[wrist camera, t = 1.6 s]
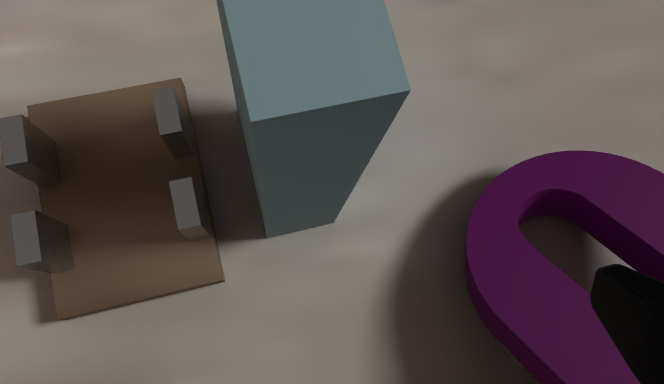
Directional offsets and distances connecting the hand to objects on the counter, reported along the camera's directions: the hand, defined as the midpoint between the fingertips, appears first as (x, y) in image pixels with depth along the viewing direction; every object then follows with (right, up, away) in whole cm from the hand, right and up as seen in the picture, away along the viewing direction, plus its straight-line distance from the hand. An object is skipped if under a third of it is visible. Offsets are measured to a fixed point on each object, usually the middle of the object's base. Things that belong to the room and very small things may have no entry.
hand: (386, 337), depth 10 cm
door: (-3, +4, +14) cm, 14 cm away
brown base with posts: (-10, +3, +13) cm, 16 cm away
